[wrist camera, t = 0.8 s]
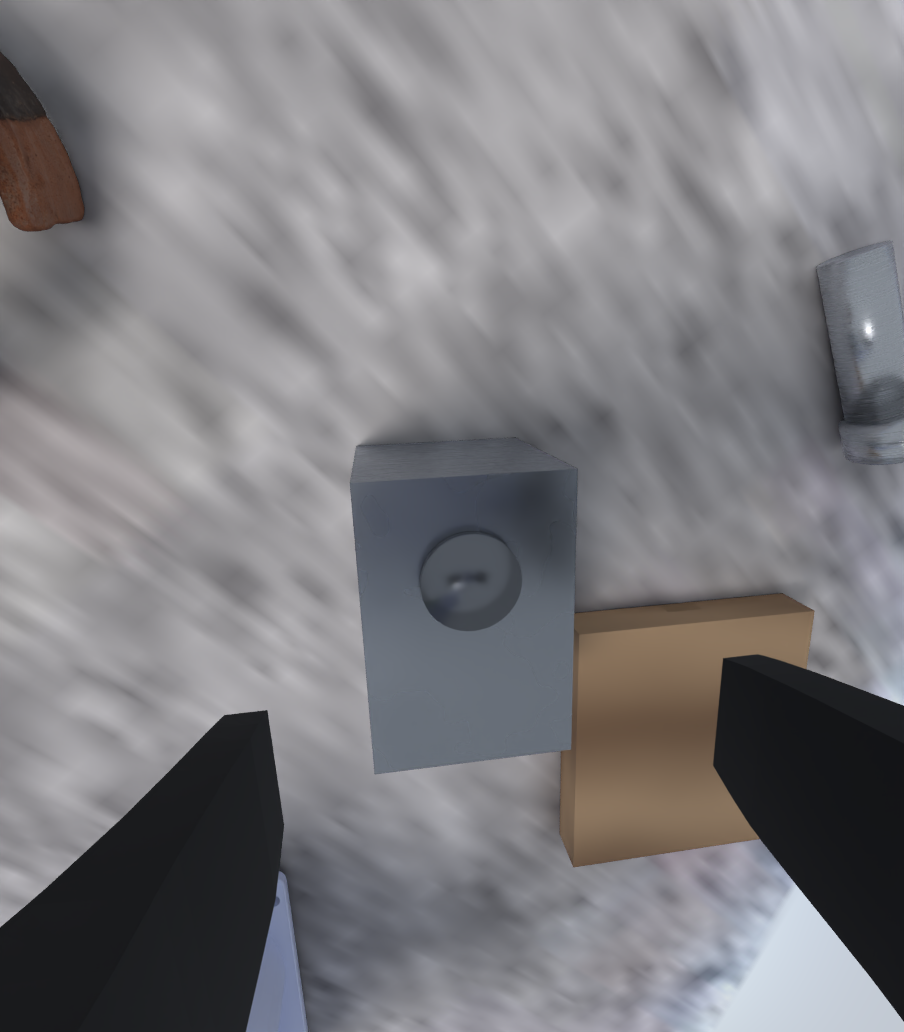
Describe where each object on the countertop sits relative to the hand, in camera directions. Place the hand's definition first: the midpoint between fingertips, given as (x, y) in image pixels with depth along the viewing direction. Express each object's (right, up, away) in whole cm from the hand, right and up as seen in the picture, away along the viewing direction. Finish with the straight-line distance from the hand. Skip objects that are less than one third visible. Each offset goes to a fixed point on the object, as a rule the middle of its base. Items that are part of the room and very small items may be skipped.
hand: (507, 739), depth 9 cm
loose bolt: (+11, +9, +9) cm, 17 cm away
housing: (-1, +2, +9) cm, 10 cm away
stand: (+7, -4, +12) cm, 14 cm away
